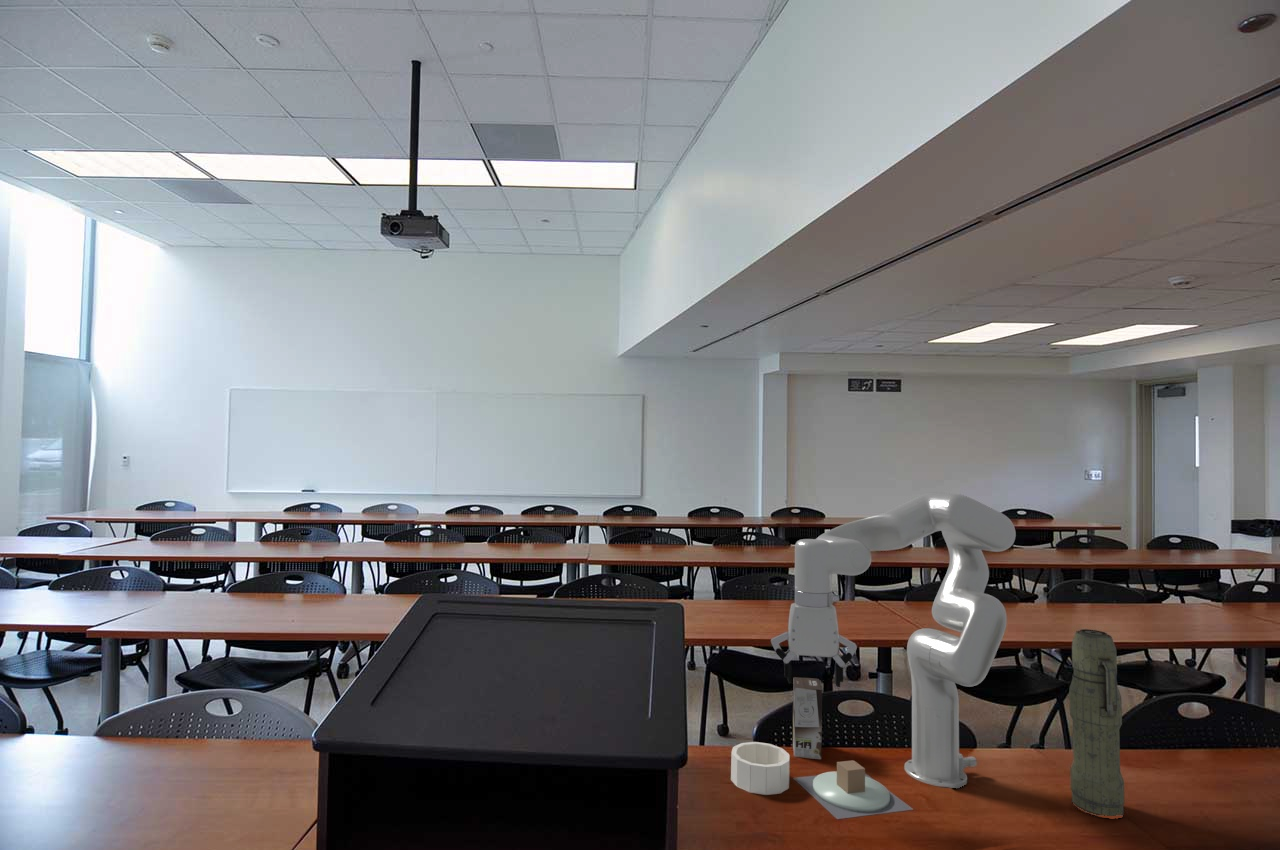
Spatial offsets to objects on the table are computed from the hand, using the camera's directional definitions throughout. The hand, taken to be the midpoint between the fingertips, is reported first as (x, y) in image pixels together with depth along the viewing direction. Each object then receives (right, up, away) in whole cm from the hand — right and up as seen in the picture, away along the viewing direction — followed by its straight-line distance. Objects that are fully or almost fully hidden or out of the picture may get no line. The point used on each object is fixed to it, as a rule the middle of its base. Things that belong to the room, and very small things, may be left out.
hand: (813, 683), depth 134 cm
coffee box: (+4, -25, +20) cm, 32 cm away
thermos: (+57, -24, -3) cm, 62 cm away
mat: (+7, -23, -1) cm, 24 cm away
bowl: (-10, -23, +3) cm, 25 cm away
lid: (+7, -22, -1) cm, 23 cm away
